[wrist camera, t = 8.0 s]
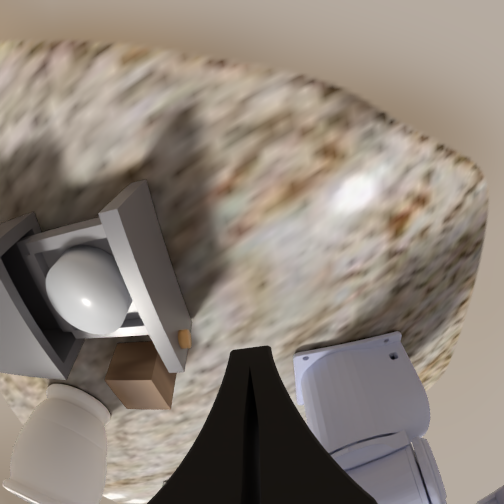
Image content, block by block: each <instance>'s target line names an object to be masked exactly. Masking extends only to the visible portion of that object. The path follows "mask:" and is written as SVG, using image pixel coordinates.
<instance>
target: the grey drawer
mask: <svg viewBox="0 0 504 504" xmlns="http://www.w3.org/2000/svg"><path fill="white" fill-rule="evenodd" d="M98 214H99V217H98V218H94V219H90V220H86V221H82V222H78V223H75V224H71V225H67V226H63V227H60V228H56V229H52V230H49V231H45V232H42V233H38V234H35V235H32V236H28V237H25V238H22V239H20V240H19V241H18V242H17V246H18V248H19V250H20V252H21V255H22V257H23V259H24V261H25V263H26V265H27V267H28V270H29V272H30V274H31V276H32V278H33V280H34V282H35V283H36V285H37V287H38V289H39V291H40V293H41V295H42V297H43V298H44V300H45V302H46V304H47V306H48V307H49V309H50V311H51V313H52V314H53V316H54V318H55V319H56V321H57V323H58V324H59V326H60V327H61V329H62V331H63V332H72V333H73V335H74V336H75V338H76V339H83V338H106V337H123V336H138V335H149V336H150V338H151V340H152V342H153V343H154V345H155V347H156V349H157V351H158V353H159V355H160V357H161V359H162V361H163V362H164V364H165V366H166V368H167V370H168V372H169V373H176V372H184V371H185V364H186V357H187V351H188V348H191V344H192V340H191V334H190V332H191V326H192V321H191V318H190V316H189V313H188V310H187V308H186V305H185V302H184V299H183V296H182V294H181V291H180V288H179V285H178V282H177V279H176V276H175V273H174V270H173V267H172V264H171V261H170V258H169V255H168V252H167V249H166V246H165V242H164V239H163V236H162V233H161V229H160V226H159V223H158V219H157V216H156V213H155V209H154V206H153V202H152V199H151V195H150V191H149V188H148V184H147V180H146V179H145V180H141V181H137V182H133V183H130V184H129V185H128V186H127V187H126V188H125V189H124V190H122V191H121V192H120V193H119V194H118V195H117V196H116V197H115V198H114V199H113V200H112V201H111V202H110V203H109V204H108V205H107V206H105V207H104V208H103V209H102V210H101V211H100V212H99V213H98ZM79 245H88V246H93V247H96V248H99V249H101V250H103V251H105V252H107V253H108V254H110V255H111V256H113V257H114V258H115V260H116V263H117V265H118V267H119V270H120V272H121V275H122V277H123V279H124V282H125V284H126V286H127V289H128V291H129V293H130V295H131V298H132V303H131V305H130V308H129V310H128V312H127V315H126V317H125V319H124V322H123V324H122V325H121V327H120V328H119V329H118V330H116V331H115V332H113V333H110V334H104V335H98V334H91V333H88V332H85V331H82V330H80V329H78V328H76V327H74V326H73V325H71V324H70V323H68V322H67V321H66V320H65V319H64V318H62V317H61V316H60V314H59V313H58V312H57V311H56V310H55V308H54V307H53V305H52V304H51V302H50V300H49V297H48V295H47V291H46V277H47V274H48V272H49V270H50V269H51V268H52V266H53V265H54V264H55V263H56V262H57V261H58V259H59V258H60V257H61V256H62V255H63V254H64V252H65V251H67V250H68V249H70V248H71V247H74V246H79Z"/></svg>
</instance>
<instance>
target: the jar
mask: <svg viewBox="0 0 504 504" xmlns="http://www.w3.org/2000/svg"><path fill="white" fill-rule="evenodd" d="M46 395H47V399H45V400H44V401H43V402H41V403H40V404H39V405H38V406H37V407H36V408H35V409H34V411H33V412H32V414H31V415H30V417H29V419H28V420H27V422H26V423H25V425H24V426H23V428H22V430H21V431H20V433H19V435H18V437H17V440H16V442H15V445H14V448H13V452H12V457H11V463H10V478H9V479H4V480H3V487H5V488H6V489H7V490H9V491H10V492H11V493H13V494H14V495H16V496H18V497H19V498H21V499H23V500H25V501H27V502H29V503H31V504H99V503H100V500H101V498H102V494H103V491H104V487H105V481H106V472H107V460H106V457H107V435H106V430H105V427H104V426H105V425H106V424H108V422H109V421H110V418H111V416H110V413H109V411H108V409H107V408H106V407H105V406H104V405H103V404H102V403H101V402H100V401H98V400H97V399H96V398H94V397H93V396H91V395H89V394H88V393H86V392H84V391H82V390H80V389H77V388H75V387H72V386H69V385H64V384H52V385H50V386H48V388H47V390H46Z"/></svg>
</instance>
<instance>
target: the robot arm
mask: <svg viewBox="0 0 504 504" xmlns="http://www.w3.org/2000/svg"><path fill="white" fill-rule="evenodd" d="M401 337H402V335H401V333H400V332H399V331H396V332H392V333H388V334H384V335H380V336H376V337H372V338H367V339H363V340H359V341H354V342H350V343H345V344H340V345H335V346H330V347H325V348H320V349H314V350H309V351H303V352H298V353H296V354H294V355H293V362H294V373H295V384H296V396H297V404H298V405H304V407H305V412H306V418H307V423H308V426H307V424H306V423H305V421H304V420H303V418H302V417H301V415H300V413H299V412H298V410H297V408H296V407H295V405H294V403H293V402H292V400H291V398H290V396H289V394H288V392H287V390H286V388H285V386H284V384H283V382H282V380H281V378H280V376H279V373H278V371H277V368H276V366H275V363H274V360H273V356H272V351H271V347H269V346H260V347H253V348H245V349H237V350H232V351H231V352H230V357H229V361H228V365H227V368H226V372H225V375H224V378H223V381H222V384H221V386H220V389H219V392H218V394H217V397H216V399H215V402H214V404H213V407H212V409H211V411H210V413H209V415H208V417H207V420H206V422H205V424H204V426H203V428H202V430H201V431H200V433H199V435H198V437H197V439H196V440H195V442H194V444H193V446H192V447H191V449H190V450H189V452H188V453H187V455H186V456H185V458H184V459H183V461H182V462H181V464H180V465H179V467H178V468H177V469H176V471H175V472H174V473H173V475H172V476H171V477H170V478H169V480H168V481H167V482H166V483H165V484H164V486H163V487H162V488H161V489H160V490H159V492H158V493H157V494H156V495H155V496H154V497H153V498H152V499H151V500H150V501H149V502H148V503H147V504H447V503H446V500H445V499H446V492H445V488H444V485H443V482H442V479H441V475H440V472H439V470H438V467H437V464H436V461H435V458H434V456H433V453H432V451H431V448H430V446H429V443H428V441H427V439H424V438H421V437H422V436H424V435H425V433H426V432H427V430H428V427H429V422H430V408H429V402H428V398H427V395H426V392H425V389H424V387H423V385H422V383H421V381H420V379H419V377H418V375H417V373H416V371H415V369H414V367H413V365H412V363H411V361H410V359H409V357H408V355H407V353H406V351H405V349H404V347H403V345H402V343H401V342H400V341H401ZM305 356H306V357H305ZM411 442H412V444H413V447H414V450H413V447H412V444H411ZM414 452H415V453H414ZM415 455H416V456H415ZM416 458H417V459H416ZM476 504H504V485H503V486H502V487H500V488H499V489H497V490H496V491H494V492H493V493H491V494H489V495H488V496H486V497H485V498H483V499H481V500H480V501H478V502H477V503H476Z"/></svg>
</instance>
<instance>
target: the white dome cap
mask: <svg viewBox="0 0 504 504" xmlns="http://www.w3.org/2000/svg"><path fill="white" fill-rule="evenodd" d="M46 291H47V295H48V297H49V300H50V302H51V304H52V305H53V307H54V308H55V310H56V311H57V312H58V313H59V314H60V316H61V317H62V318H64V319H65V320H66V321H67V322H68V323H70V324H71V325H73V326H74V327H76V328H78V329H80V330H82V331H85V332H88V333H91V334H98V335H104V334H110V333H113V332H115V331H116V330H118V329H119V328H120V327H121V325H122V324H123V322H124V319H125V317H126V315H127V312H128V310H129V308H130V305H131V303H132V298H131V295H130V293H129V291H128V289H127V286H126V284H125V282H124V279H123V277H122V275H121V272H120V270H119V267H118V265H117V263H116V260H115V258H114V257H113V256H111V255H110V254H108V253H107V252H105V251H103V250H101V249H99V248H96V247H93V246H88V245H79V246H74V247H71V248H70V249H68V250H67V251H65V252H64V254H63V255H62V256H61V257H60V258H59V259H58V261H57V262H56V263H55V264H54V265H53V266H52V268H51V269H50V270H49V272H48V274H47V277H46Z"/></svg>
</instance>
